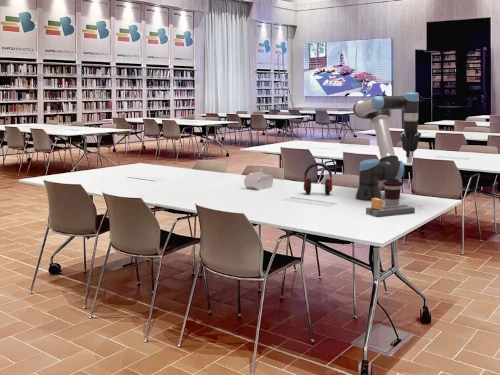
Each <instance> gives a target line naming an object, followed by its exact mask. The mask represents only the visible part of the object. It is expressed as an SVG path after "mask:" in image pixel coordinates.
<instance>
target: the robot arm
mask: <svg viewBox="0 0 500 375" xmlns="http://www.w3.org/2000/svg"><path fill="white" fill-rule="evenodd" d="M419 94H420V93H419V92H405V93H404V95H383V96H382V95H377V96H373V97H372V98H371V99H368V100H359V101H357V102H355V104H353V107H352V112H353V114H354V115H355V117H356V118H359V119H362V120H370V123H371V124H372V125H373V126H374V133H375V138H376V141H377V146H378V151H379V156H380V158H379V159H376V158H369V159H365V160H364V159H363V160H362V161H361V162H360V163H359V167H358V170H359V171H358V172H359V173H358V174H359V176H358V188H357V191H356V193H355V199H356V200H360V201H361V200H362V201H372V198H379V199H382V193H381V189H380V186H379V184H380V182H385V181H386V180H387V179H398V180H399V181H400V180H401V179H402V177H403V175H404V171H405V165H404V162H403V160H399V157H398V156H397V155H396V154H395V153H396V152H395V149H394V144H393V140H392V136H391V130H390V127H389V126H390V125H389V121H390V118H391V116H392V110H404V111H403V120H404V121H403V132H402V133H401V132H400V133H399V136H400V138H401V145H402V150H403V151H404V152H405V153H406V155H405V157H406V164H412V163H413V157H414V152H415V151H417V150H418V146H419V141H420V137H422V136H421V135H422V133H421V132H419V131H418V127H419V126H418V124H419V107H420V106H419V105H420V103H419V102H420V97H419V96H420V95H419Z"/></svg>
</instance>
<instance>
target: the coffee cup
mask: <svg viewBox="0 0 500 375" xmlns="http://www.w3.org/2000/svg"><path fill="white" fill-rule="evenodd" d="M402 185H403V184H402V181H400V179H399V180H398V179H387V180H386V181H383V186H384V199H385V200H384V202H385V205H384V206H391V205H400V198H401V186H402Z"/></svg>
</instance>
